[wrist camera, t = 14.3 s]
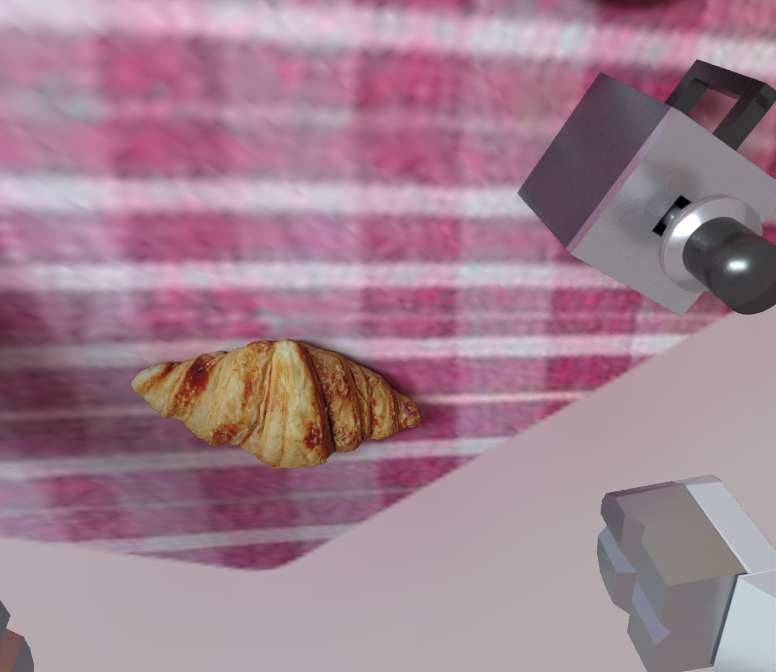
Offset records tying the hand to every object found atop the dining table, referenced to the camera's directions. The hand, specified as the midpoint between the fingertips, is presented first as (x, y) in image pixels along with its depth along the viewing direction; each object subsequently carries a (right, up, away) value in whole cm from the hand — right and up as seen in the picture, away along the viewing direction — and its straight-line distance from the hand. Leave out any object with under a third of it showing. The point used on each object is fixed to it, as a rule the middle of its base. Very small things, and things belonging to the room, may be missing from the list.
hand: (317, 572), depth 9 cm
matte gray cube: (+17, +16, +37) cm, 44 cm away
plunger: (+16, +14, +36) cm, 42 cm away
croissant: (-7, 0, +43) cm, 44 cm away
